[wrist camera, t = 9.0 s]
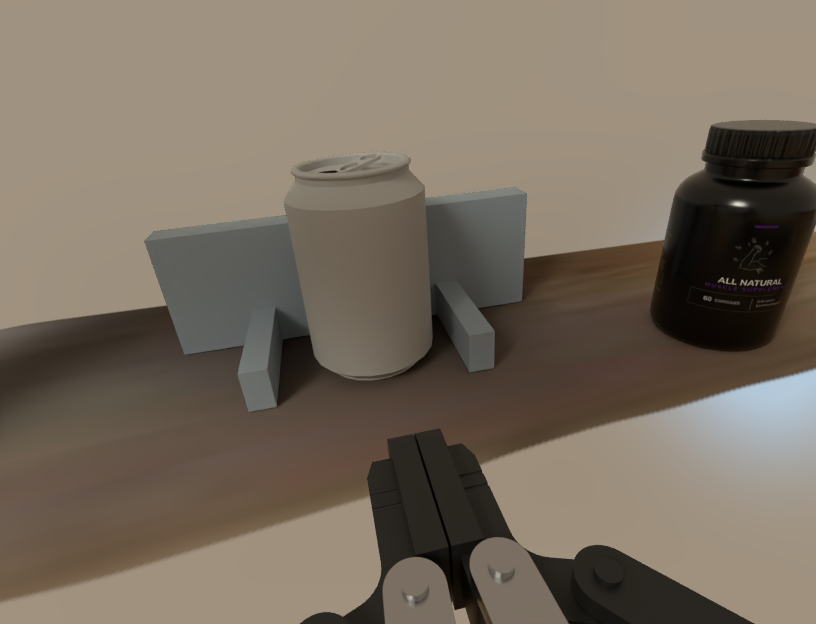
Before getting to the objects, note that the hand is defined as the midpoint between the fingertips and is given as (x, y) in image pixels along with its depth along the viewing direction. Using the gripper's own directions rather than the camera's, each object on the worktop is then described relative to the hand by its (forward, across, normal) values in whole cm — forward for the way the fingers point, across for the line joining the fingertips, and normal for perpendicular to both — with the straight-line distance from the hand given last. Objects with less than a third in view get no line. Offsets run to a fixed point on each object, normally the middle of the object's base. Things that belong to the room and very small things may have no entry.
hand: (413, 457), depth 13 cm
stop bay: (+17, 0, +6) cm, 18 cm away
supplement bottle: (+12, -22, +6) cm, 25 cm away
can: (+15, 0, +6) cm, 17 cm away
